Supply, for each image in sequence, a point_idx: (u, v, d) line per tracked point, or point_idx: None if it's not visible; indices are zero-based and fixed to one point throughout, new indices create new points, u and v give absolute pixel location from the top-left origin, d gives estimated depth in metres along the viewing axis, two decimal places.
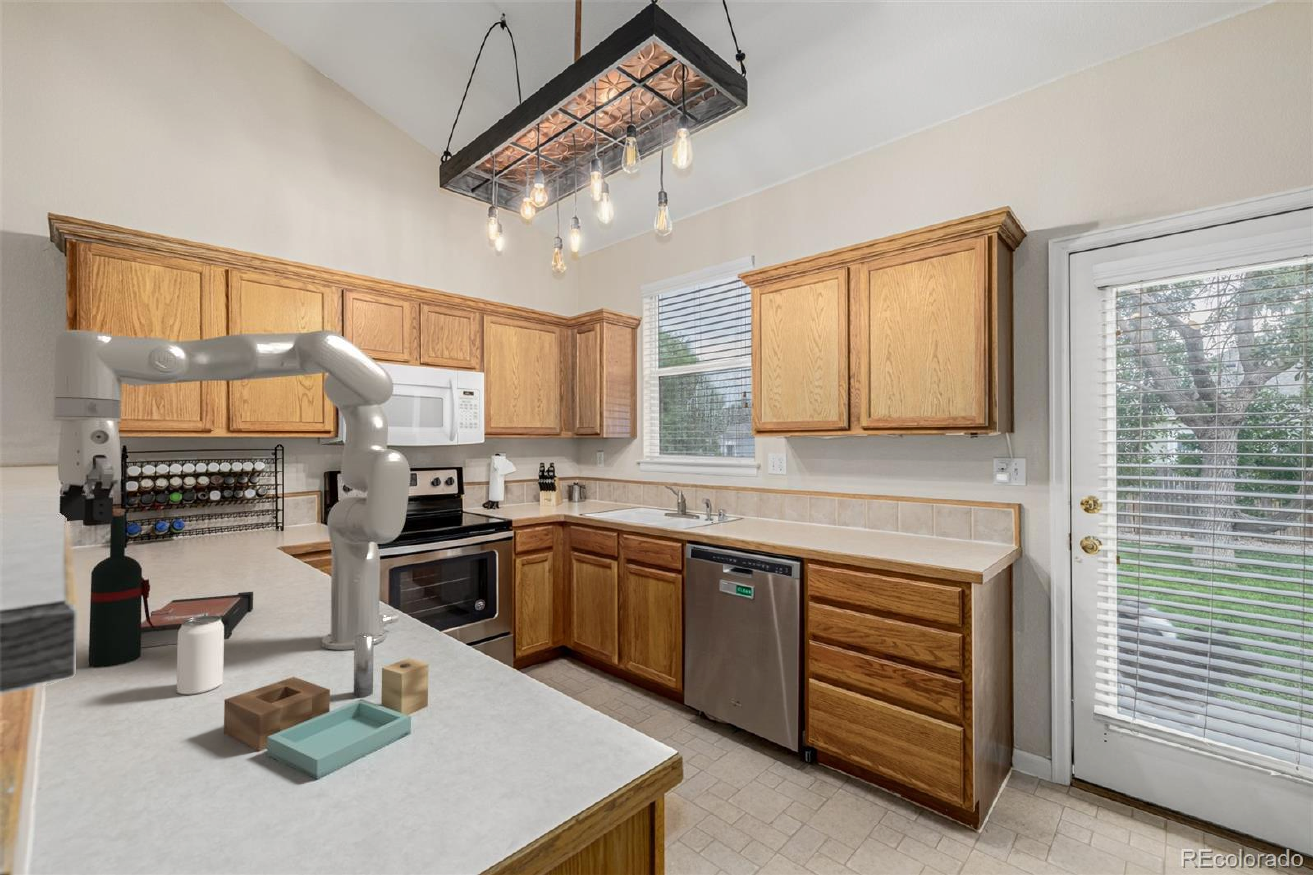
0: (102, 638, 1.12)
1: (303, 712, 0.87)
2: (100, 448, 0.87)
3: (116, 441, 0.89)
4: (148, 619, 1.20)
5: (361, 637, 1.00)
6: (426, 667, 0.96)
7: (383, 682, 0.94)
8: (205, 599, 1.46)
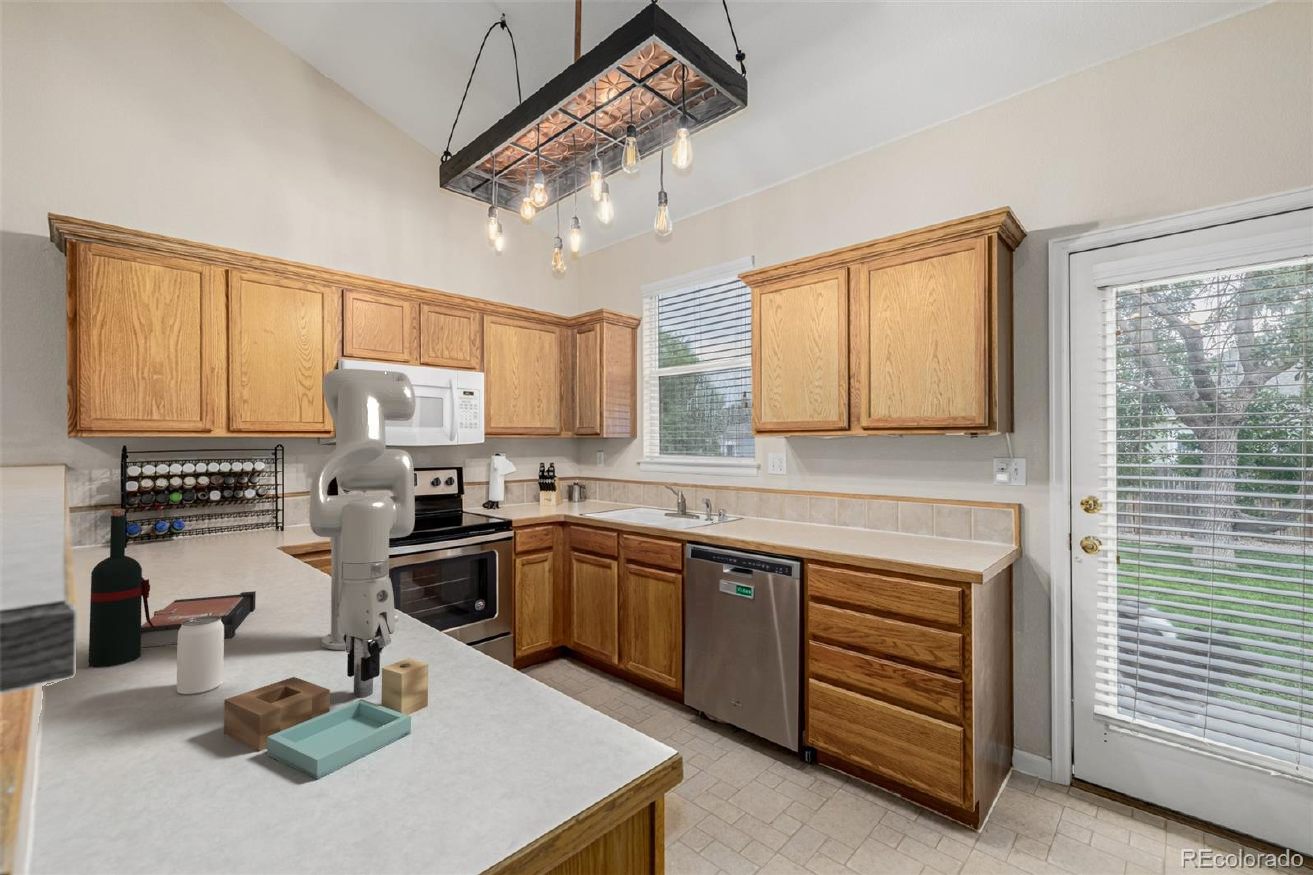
0: (102, 638, 1.12)
1: (303, 712, 0.87)
2: (382, 606, 0.98)
3: (392, 597, 1.00)
4: (148, 619, 1.20)
5: None
6: (426, 667, 0.96)
7: (383, 682, 0.94)
8: (208, 599, 1.46)
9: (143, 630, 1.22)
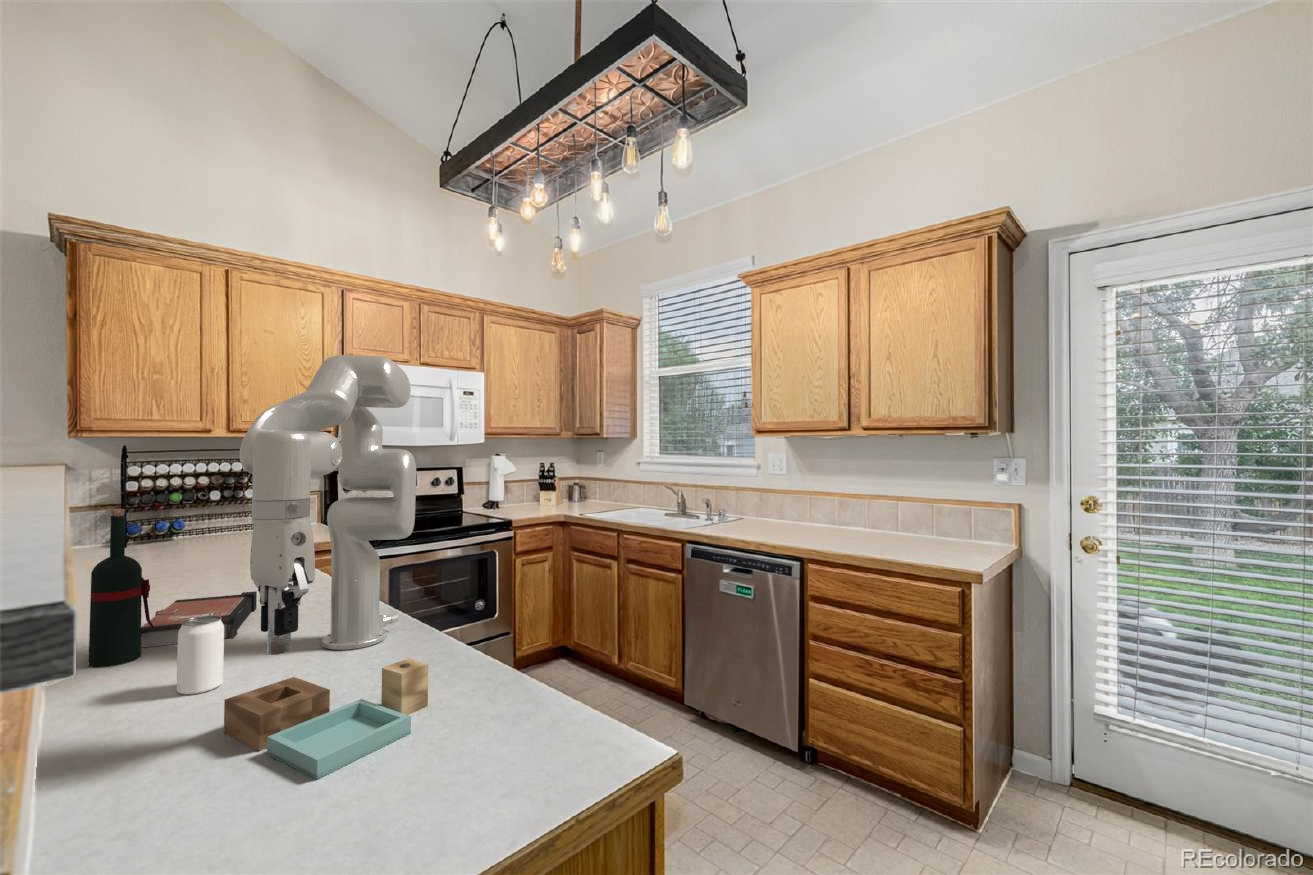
0: (102, 638, 1.12)
1: (303, 712, 0.87)
2: (299, 550, 0.86)
3: (311, 541, 0.88)
4: (148, 619, 1.20)
5: None
6: (426, 667, 0.96)
7: (383, 682, 0.94)
8: (209, 599, 1.46)
9: (145, 630, 1.22)
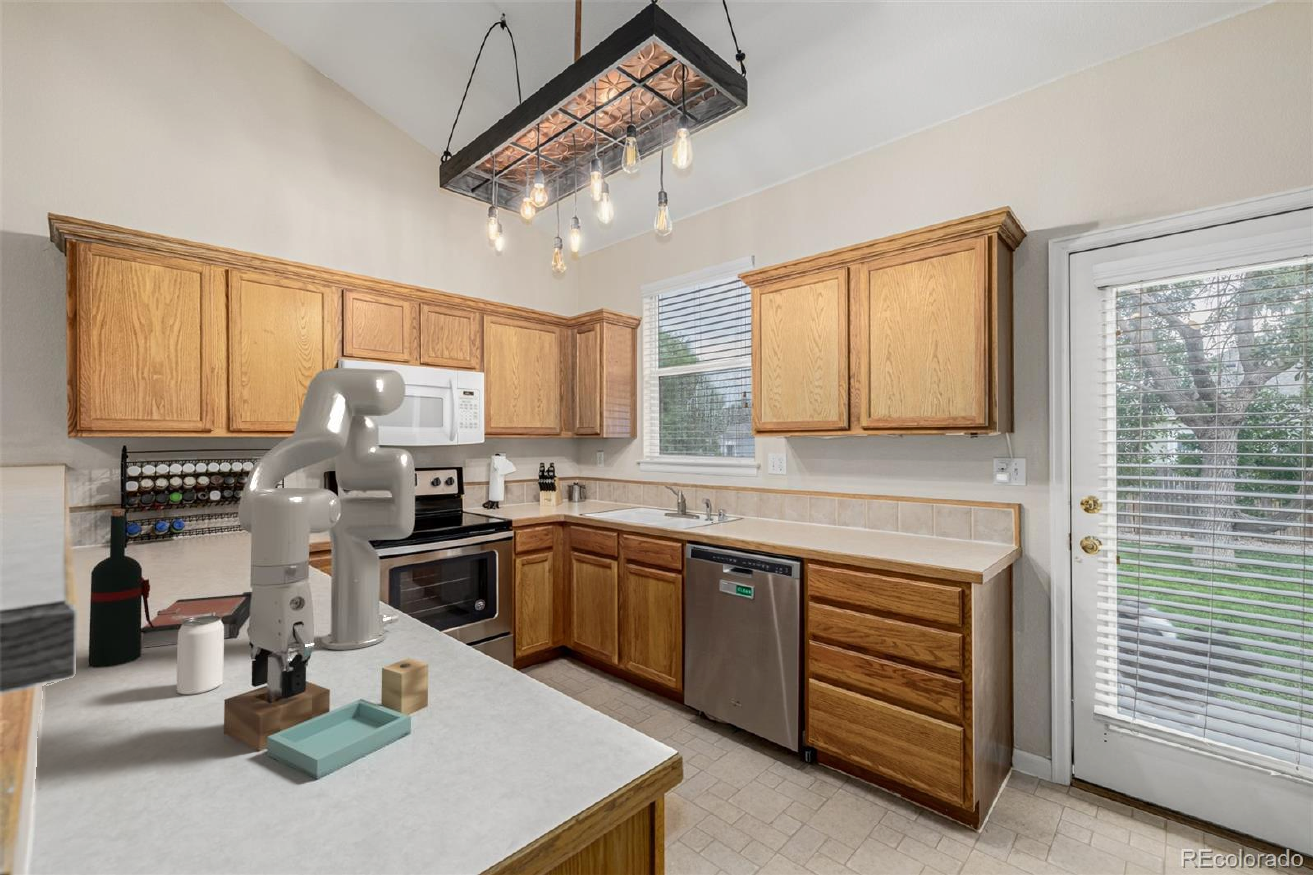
0: (102, 638, 1.12)
1: (303, 712, 0.87)
2: (298, 615, 0.86)
3: (310, 604, 0.88)
4: (148, 619, 1.20)
5: (275, 656, 0.88)
6: (426, 667, 0.96)
7: (383, 682, 0.94)
8: (210, 599, 1.46)
9: (148, 630, 1.23)
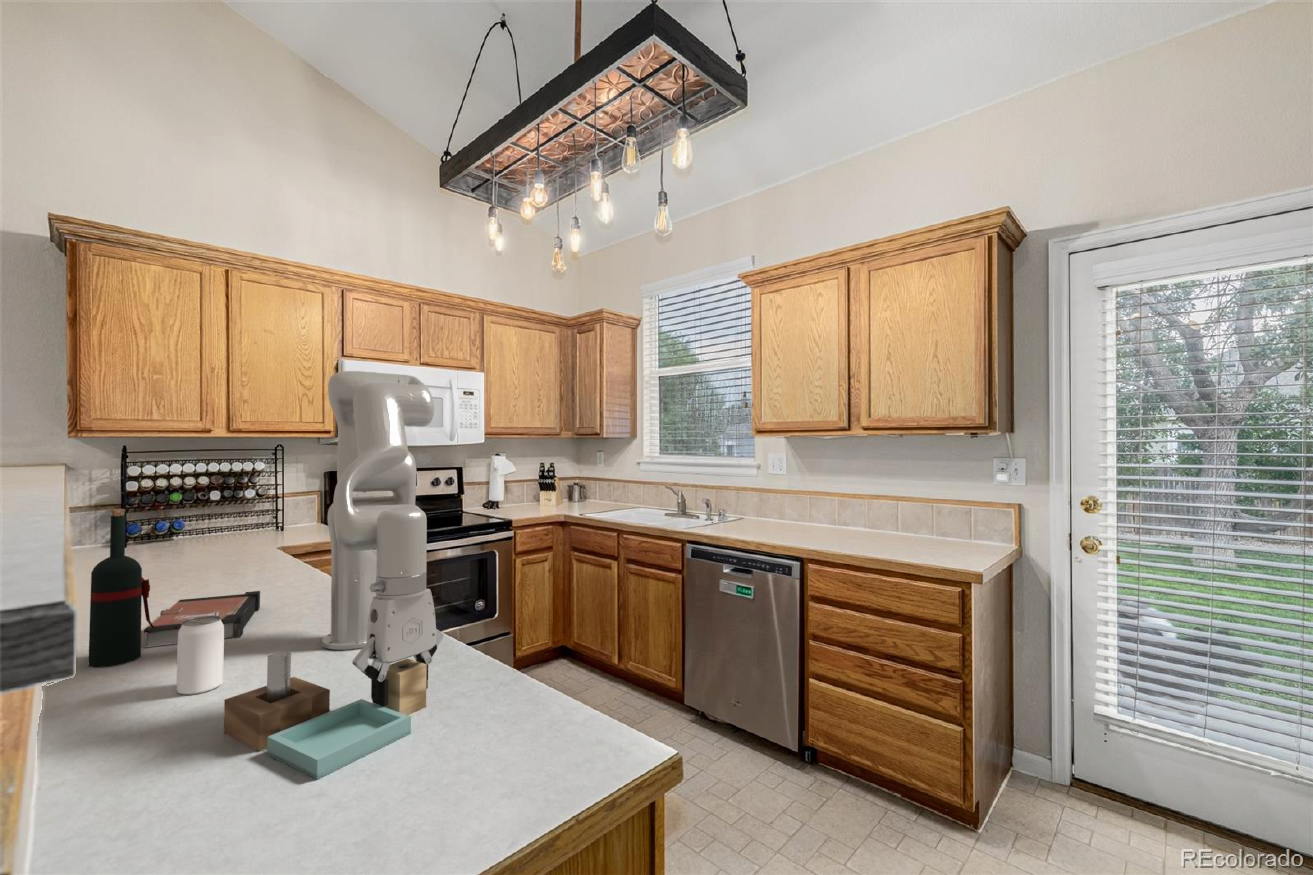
0: (102, 638, 1.12)
1: (303, 712, 0.87)
2: (373, 627, 0.90)
3: (382, 621, 0.89)
4: (148, 619, 1.20)
5: (275, 656, 0.88)
6: (424, 667, 0.96)
7: None
8: (212, 598, 1.47)
9: (152, 629, 1.23)
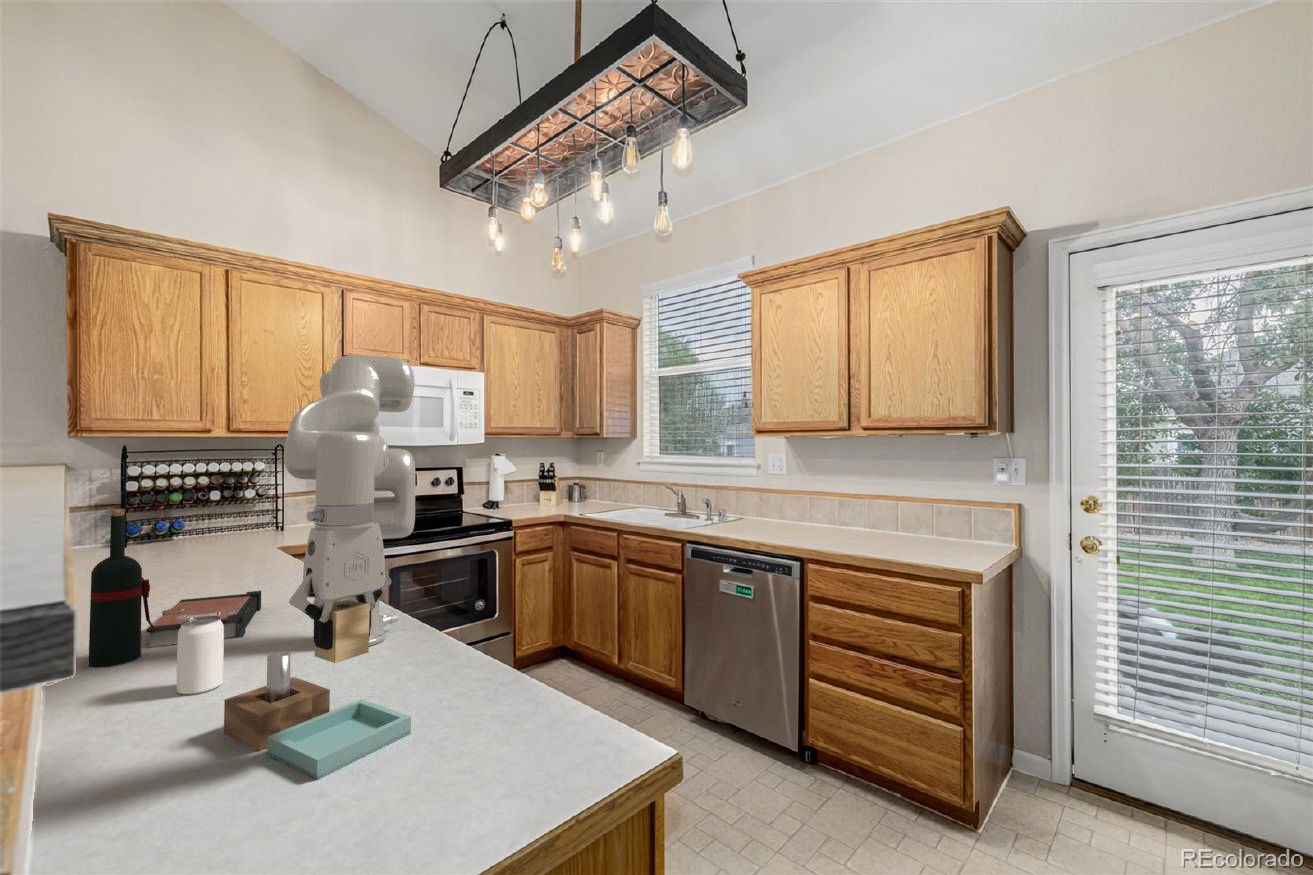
0: (102, 638, 1.12)
1: (303, 712, 0.87)
2: (309, 561, 0.80)
3: (320, 554, 0.79)
4: (148, 619, 1.20)
5: (274, 656, 0.88)
6: (367, 608, 0.85)
7: None
8: (214, 598, 1.47)
9: (154, 629, 1.23)
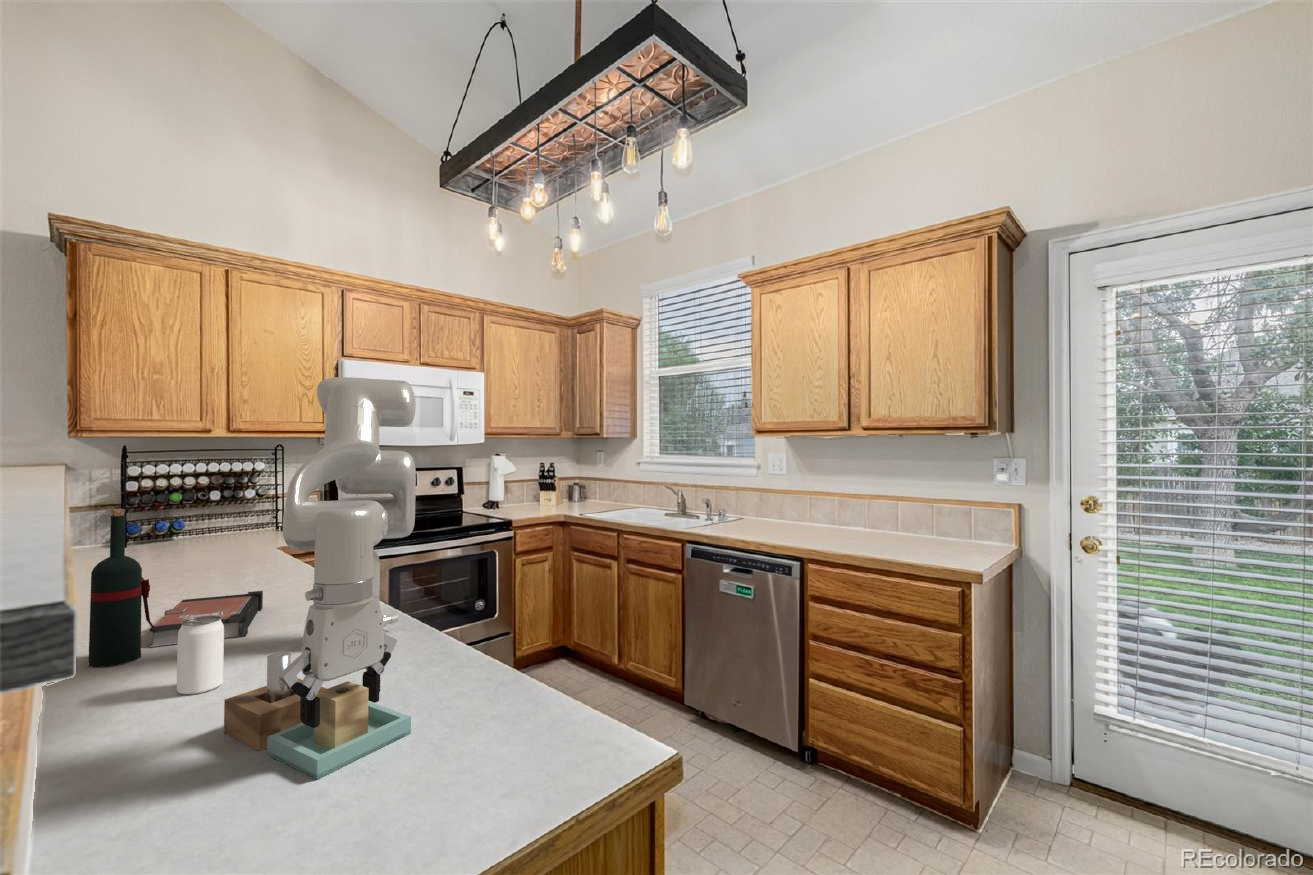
0: (102, 638, 1.12)
1: None
2: (308, 640, 0.80)
3: (318, 634, 0.79)
4: (148, 619, 1.20)
5: (274, 656, 0.88)
6: (366, 692, 0.85)
7: None
8: (215, 598, 1.47)
9: (157, 629, 1.23)
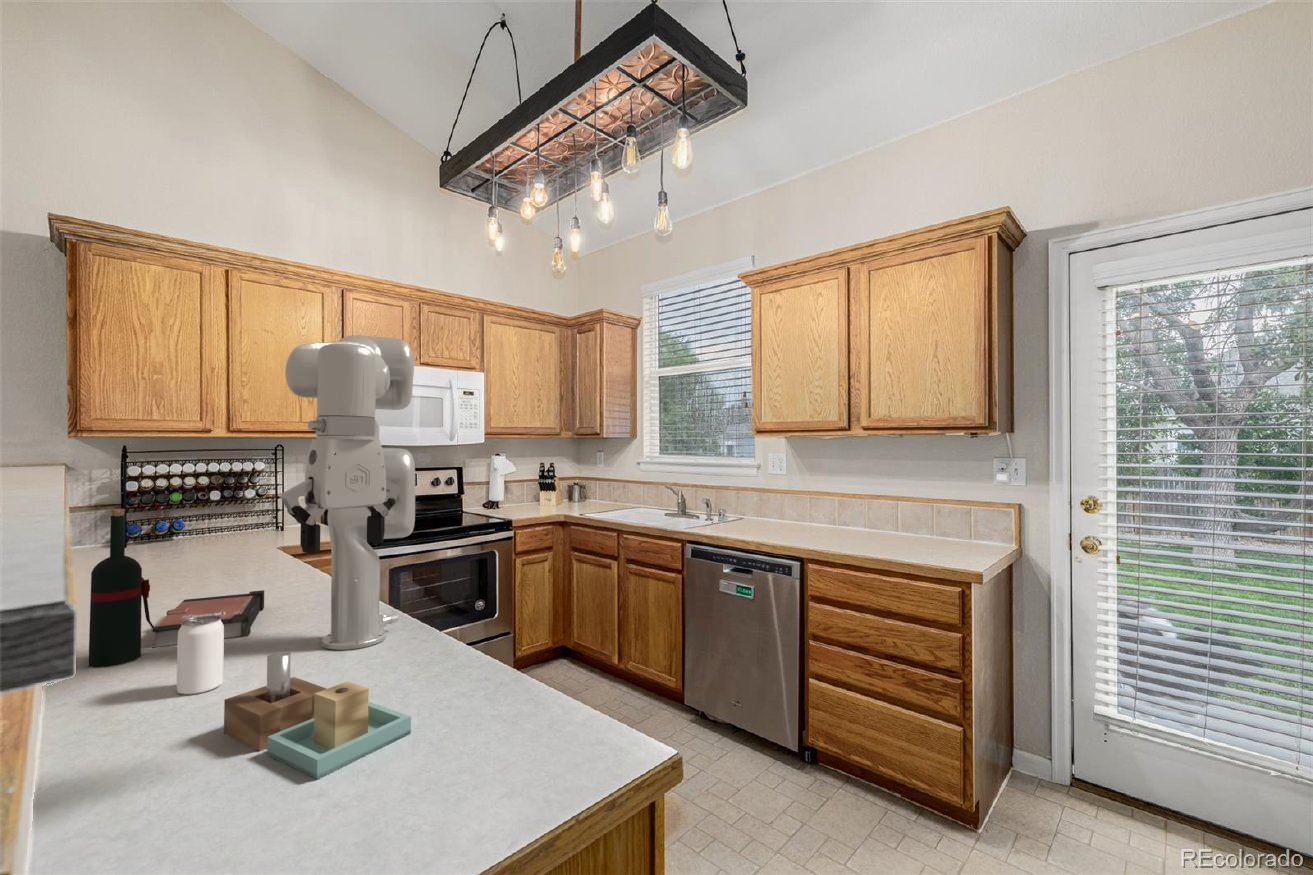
0: (102, 638, 1.12)
1: (303, 712, 0.87)
2: (311, 469, 0.80)
3: (321, 462, 0.79)
4: (148, 619, 1.20)
5: (274, 657, 0.88)
6: (366, 692, 0.85)
7: (316, 710, 0.83)
8: (217, 598, 1.47)
9: (160, 629, 1.23)
